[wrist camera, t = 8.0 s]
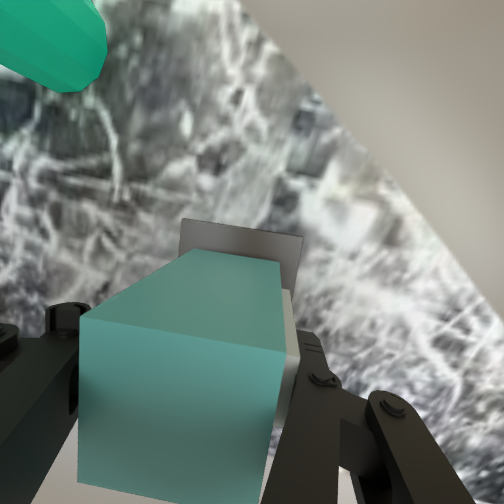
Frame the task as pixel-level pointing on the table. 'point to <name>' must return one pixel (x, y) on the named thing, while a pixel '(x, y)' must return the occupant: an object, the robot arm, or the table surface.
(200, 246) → the gray square base stand
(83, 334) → the turquoise rectangular block
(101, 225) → the table surface
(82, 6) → the candle
